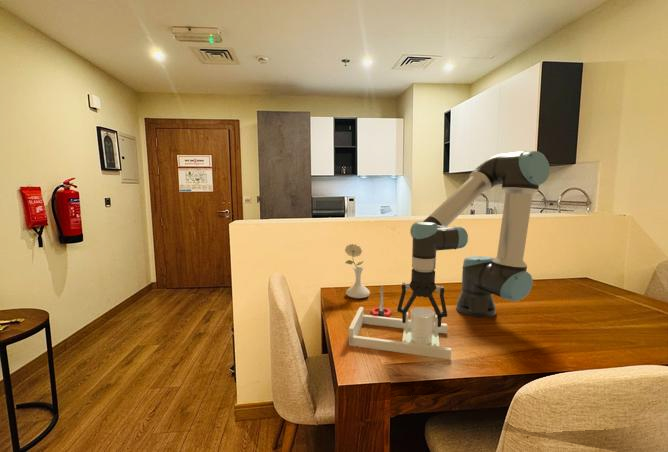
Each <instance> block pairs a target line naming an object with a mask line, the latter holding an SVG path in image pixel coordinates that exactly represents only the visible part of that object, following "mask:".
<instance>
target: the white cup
mask: <svg viewBox="0 0 668 452" xmlns="http://www.w3.org/2000/svg"><path fill="white" fill-rule="evenodd" d="M435 315H436V312H435V311H433V310H432V309H430V308H426V307H415V308H412V309H410V320H411V339H412V341H413V342H415V343H417V344H424V345H428V344H430V343H431V342H432V335H433V327H434V323H435Z"/></svg>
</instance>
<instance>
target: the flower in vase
mask: <svg viewBox="0 0 668 452" xmlns="http://www.w3.org/2000/svg"><path fill="white" fill-rule="evenodd" d="M344 252H345V254H346V255H347V256H350V257H352V258H356V257H360V256H361V254H362V253H363V250H362V248H361V247H360V245H358V244H353V243H352V244H347V245H346V246H345V249H344ZM344 263H345V264H348V265H353V264H354V266H353V267H352V269H353V270H354V274H355V283H353V285H351V286H350V287H349V288H348V289H346V291H345V294H346V295H347V297H350V298H352V299H364V298H368V297H369V296H370V294H371V291H370V290H369V289H368V288H367V287H366V286H365V285H364V284H362V282H361V279H362V278H361V276H362V273H363V270H364V267H363V266H360V265H362V264H363V263H364V260H363V261H359V262H357V263H355V261H354V260H350V259H347V260H346V261H345V262H344Z"/></svg>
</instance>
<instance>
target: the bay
mask: <svg viewBox="0 0 668 452" xmlns="http://www.w3.org/2000/svg"><path fill="white" fill-rule="evenodd" d="M364 309H365V308H364V307H363V306H359V308H358V310H357V312H356V314H355V315H354V317H353V319H352V321H351V323H350V325H349V327H348V346H349V347H350V346H351V347H357V346H358V348H364V349H365V348H366V349H373V350H379V351H386V352H394V353H402V354H408V355H415V356H422V357H423V356H424V357H429V358H430V357H431V358H436V359H437V358H438V359H444V360H449V361H451V360H452V348H451V347H448V346H447V347H446V346H440V338H439V334H448V324H447V323H444V322H443V323H442V322H441V327H437V337H435V335H434V331H435V322H434V327H433V335H432V342H431V343H430V344H428V345H424V344H417V343H415V342H413V341H412V339H411V319H408V334H406V333H405V327H406V323H403V322H402V318H396V317H381V316H373V314H372V315H371V314H365V313H364V312H365V311H364ZM363 325H371V326H372V325H373V326H379V327H380V326H381V327H388V328H398V329H403V335H402V341H400V340H393V339H386V338H377V337H368V336H361V335H359V334H360V331H361V329H362V326H363Z"/></svg>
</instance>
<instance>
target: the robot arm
mask: <svg viewBox="0 0 668 452" xmlns="http://www.w3.org/2000/svg"><path fill="white" fill-rule="evenodd" d="M549 175H550V163H549V161H548V159H547V158H546V156H545V154H544V153H542V152H540V151H538V150H524V151H515V152H508V153H507V152H505V153H499V154H496V155H494V156H492V157H489V158H488V159H486V160H485V161H483V162H482V163H481V164H480V165H478V166H477V167H475V168H474V170H472V172H471V173H470V174H469V177H468V178H467V180H465V182H463V184H462V185H460V186H459V187H458V188H457V189H456V190H455V191H454V192H452V194H450V196H448V198H446V200H445V201H443V202H442V203H441V204H440V205H439V206H438V207H437V208H436V209H435V210H434V211H433V212H431V214H429V215H428V217H426V218H425V219H424V220H422V221H421V220H420V221H416V222H414V223H413V224H412V225H411V227H410V230H409V231H410V232H409V233H410V236H411V238H412V250H411V251H412V252H411V253H412V254H411V268H412V269H411V278H410V282H409V283H406V282H402V284H401V294H400V298H399V302H398V305H397V308H396V309H397V310H396V311H397V313H401V315H402V316H401V317H402V318H401V319H402V322H403V323H406V327H405V333H406V334H408V320H409V312H408V311H409V309H410V308H411V306H412V304H413V302H414V301H415V300H416V298H417V297H418V298H420V297H421V298H428V300H429V302H430V304H431V306H432V307H433V309H434V313H435V318H434V323H435V331H434V335H435V337H437V327H441V323H442V319H443V318H447V317H448V311H447V306H446V302H445V301H446V300H445V296H444V294H445V286H444V285H436V283H435V282H436V270H435V269H436V265H437V264H436V262H437V252H439V251H447V250H448V251H449V250H457V249H462V248H464V247H465V246H467V244H468V242H469V235H468V232H467V230H466V229H465V228H464V227H462V226H449V225H450V224H452V223H453V222H454V220H455V219H457V218H458V217H459V216H460V215H461V214H462V213H463V212H464V211H465V210H466V209H467V208H468V207H469V206H470V205H471V204H472V203H474V201H475V200H476V199H478V197H480V196H481V195H482V194H483V193H484V192H487V191H488V192H489V191H490V190H491V189H492V188H493V187H495V186H498V185H501V189H502V190H503V192H504V193H505V196H504V204H503V211H502V219H501V225H500V233H499V239H498V247H497V253H496V255H497V256H495V257H491V256H482V255H481V256H479V255H477V256H476V255H475V256H467V257H465V258H464V259H463V263H462V273H461V274H462V278H461V280H462V281H461V292H460V294H459V296H458V299H457V301H456V307H455V308H456V311H458V312H459V313H461V314H463V315H466V316H468V317H473V318H481V319H486V318H487V319H488V318H492V317H495V316H496V314H497V307H496V305H495V300H494V298H493V295H494V296H498V297H499V298H501V299H504V300H508V301H510V302H519V301H521V300H523V299H524V298H526V297H527V296H528V295H529V293H531V290H532V287H533V284H534V283H533V282H534V281H533V280H534V278H533V277H532V275H531V274H530V273H529V272H528V271H527V268H528V265H527V263H526V262H525V261H524V256H525V249H526V243H527V237H528V229H529V224H530V223H529V222H530V215H531V208H532V201H533V195H534V194H536V193H537V192H538V191H539V189H540V185H542V184H544V183H546V181H547V180H548V178H549ZM409 288H410V289H411V290H412V293H411V295H410V297H409V298H408V300H407V302H406V304H405V305H404V307H403V304H404V300H405V296H406V293H407V291H408V290H409ZM435 291H437V293H438V294H439V298H440V304H441V309H442V311H441V310H440V308H439V306H438V303H437V302H436V300H435V298H434V295H433V293H434V292H435Z"/></svg>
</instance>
